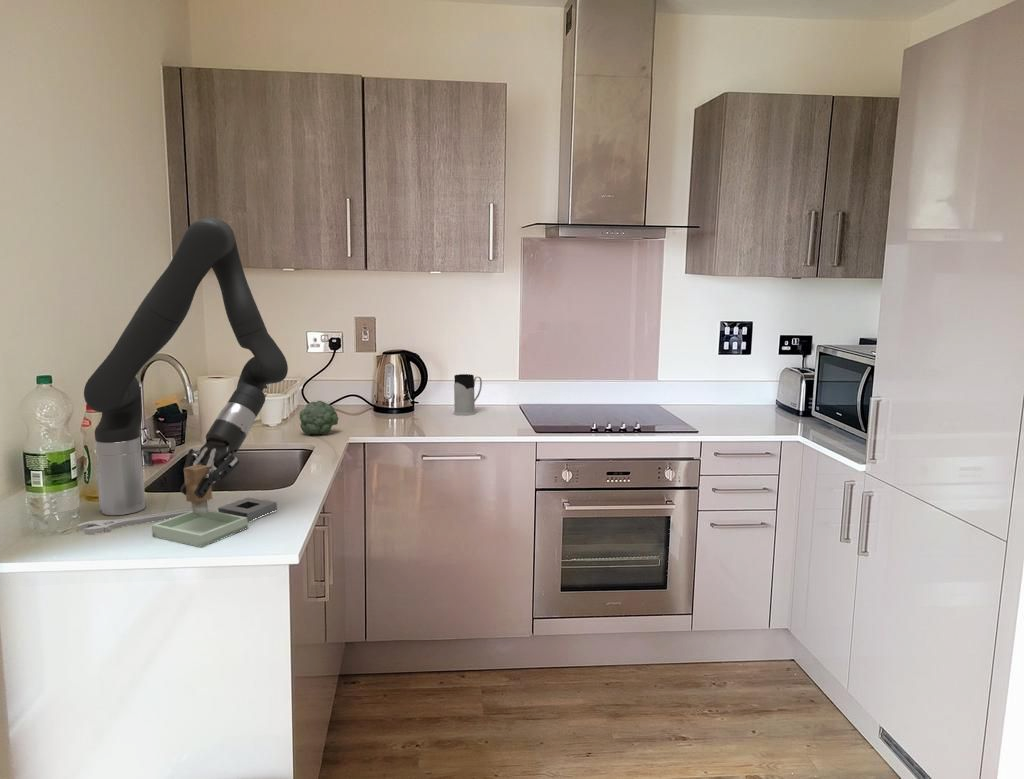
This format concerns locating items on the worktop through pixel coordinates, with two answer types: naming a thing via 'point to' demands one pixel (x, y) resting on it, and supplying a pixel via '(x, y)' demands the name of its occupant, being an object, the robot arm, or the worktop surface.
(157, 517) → the adjustable wrench
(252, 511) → the socket block
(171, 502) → the worktop surface
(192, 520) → the tray
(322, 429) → the vegetable
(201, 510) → the wooden square peg
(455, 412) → the grey black mug
